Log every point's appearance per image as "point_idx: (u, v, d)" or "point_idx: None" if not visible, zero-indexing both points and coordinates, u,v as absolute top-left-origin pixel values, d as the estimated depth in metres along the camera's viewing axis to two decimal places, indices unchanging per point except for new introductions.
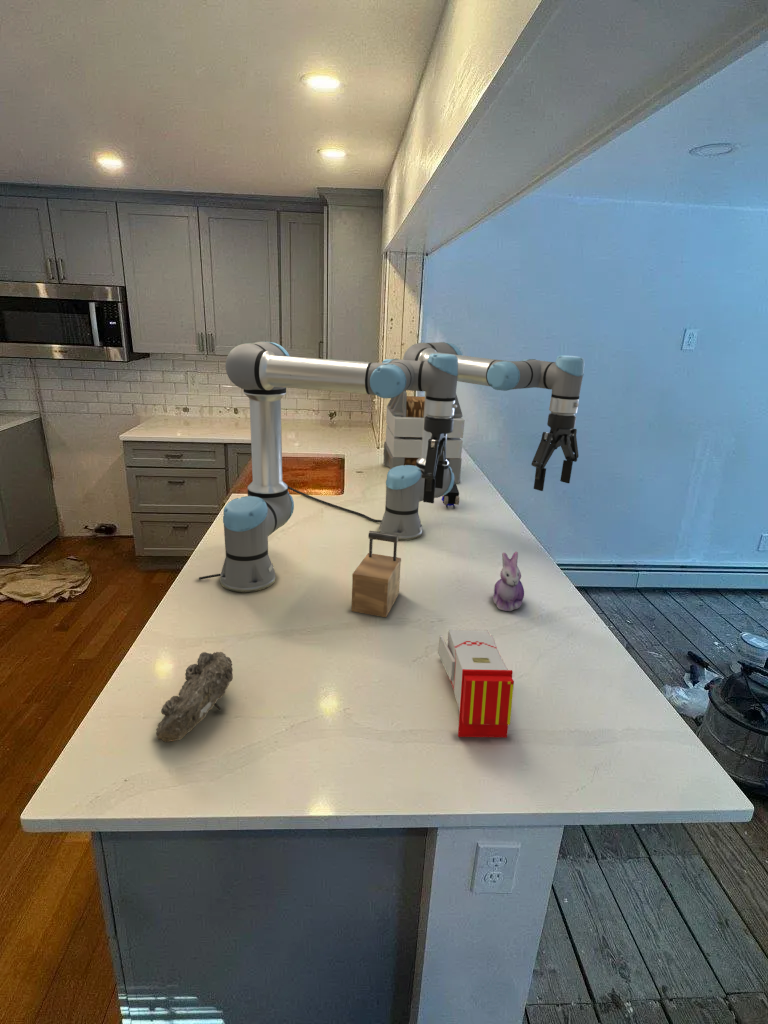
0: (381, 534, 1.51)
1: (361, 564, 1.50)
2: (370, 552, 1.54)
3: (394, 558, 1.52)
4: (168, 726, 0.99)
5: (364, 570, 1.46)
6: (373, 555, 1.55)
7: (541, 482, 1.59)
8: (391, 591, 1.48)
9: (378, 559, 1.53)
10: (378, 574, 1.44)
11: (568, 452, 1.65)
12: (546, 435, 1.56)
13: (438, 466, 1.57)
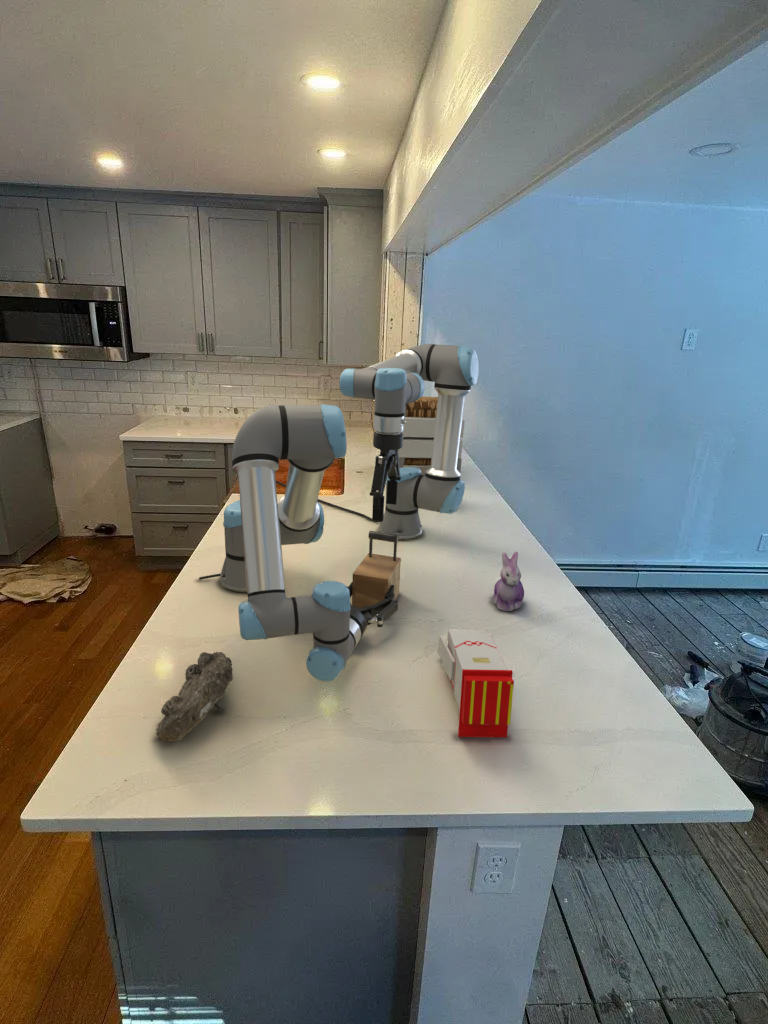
0: (381, 534, 1.51)
1: (361, 564, 1.50)
2: (370, 552, 1.54)
3: (394, 558, 1.52)
4: (168, 726, 0.99)
5: (364, 570, 1.46)
6: (373, 555, 1.55)
7: (381, 512, 1.41)
8: None
9: (378, 559, 1.53)
10: (378, 574, 1.44)
11: (393, 472, 1.50)
12: (380, 459, 1.37)
13: None
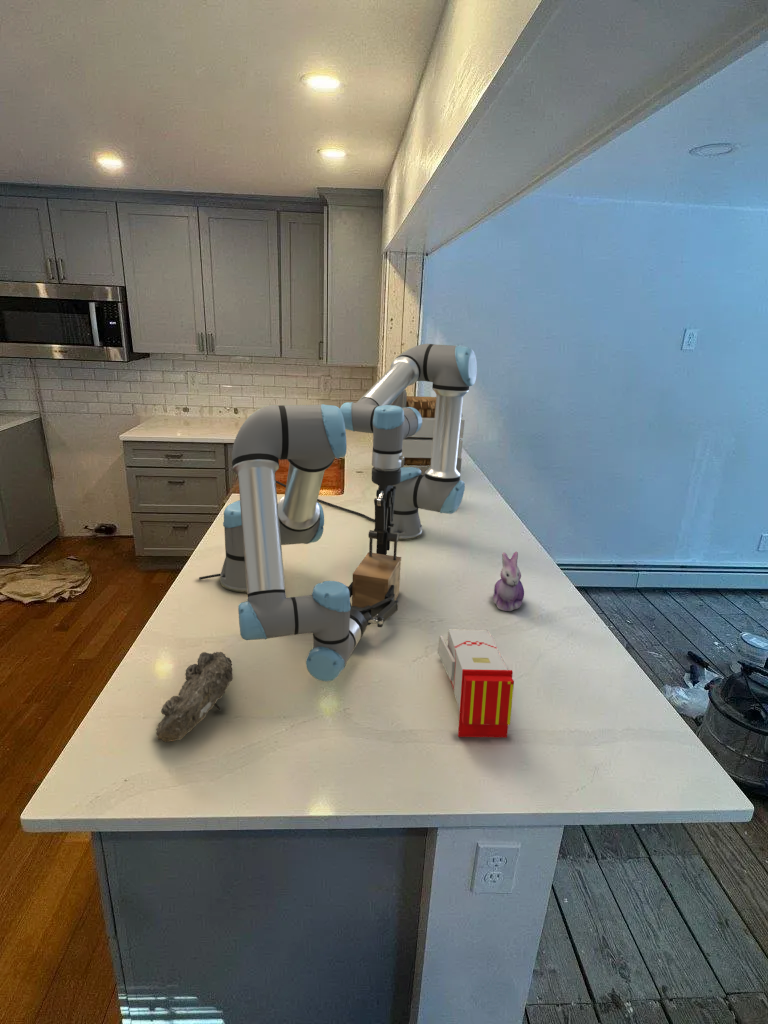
0: None
1: (361, 564, 1.50)
2: (370, 551, 1.54)
3: (394, 557, 1.52)
4: (168, 726, 0.99)
5: (364, 570, 1.46)
6: (373, 554, 1.55)
7: (385, 546, 1.50)
8: None
9: (378, 558, 1.53)
10: (378, 574, 1.44)
11: (388, 513, 1.50)
12: (379, 503, 1.42)
13: None
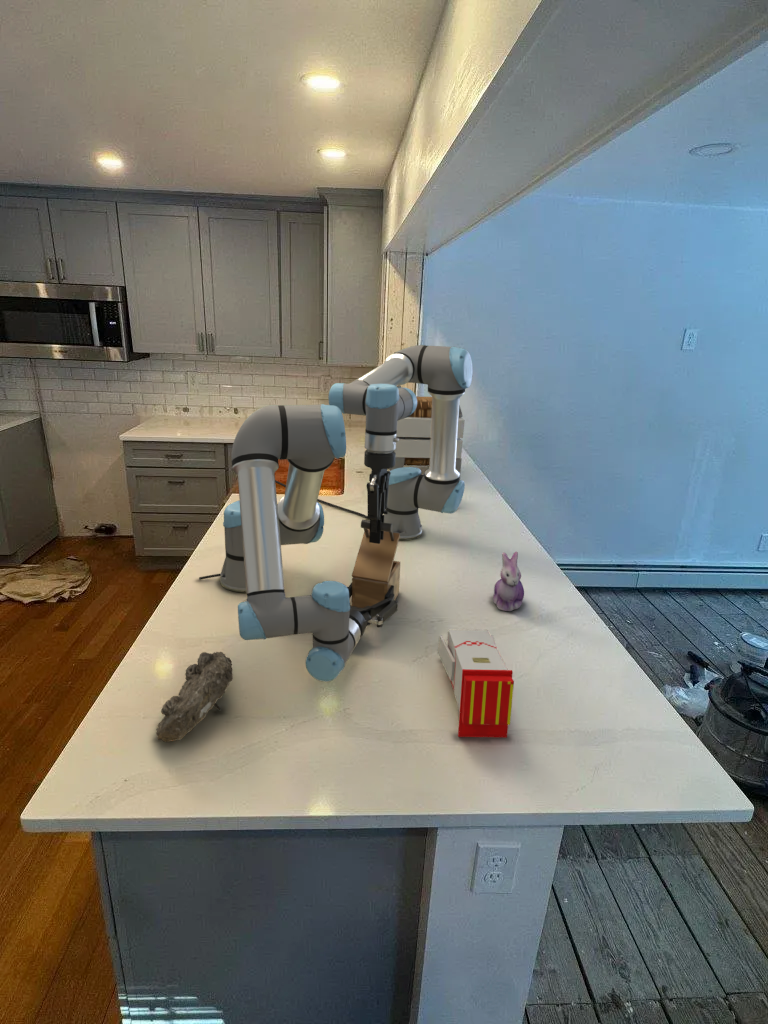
0: None
1: (359, 554, 1.46)
2: (366, 534, 1.48)
3: (392, 539, 1.47)
4: (168, 726, 0.99)
5: (363, 567, 1.44)
6: None
7: (378, 534, 1.41)
8: None
9: None
10: (377, 572, 1.43)
11: (382, 499, 1.42)
12: (372, 488, 1.33)
13: (384, 600, 1.41)
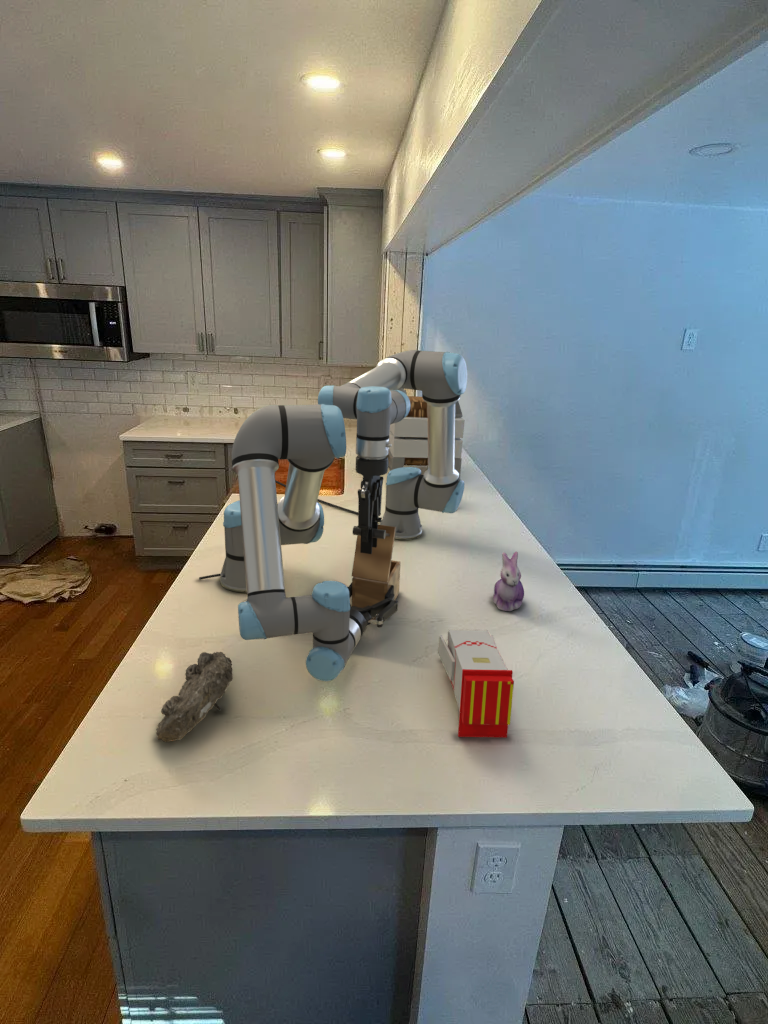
0: None
1: (356, 552, 1.44)
2: None
3: (388, 536, 1.41)
4: (168, 726, 0.99)
5: (362, 567, 1.43)
6: None
7: (370, 544, 1.35)
8: None
9: None
10: (376, 572, 1.42)
11: (375, 506, 1.36)
12: (363, 494, 1.27)
13: None
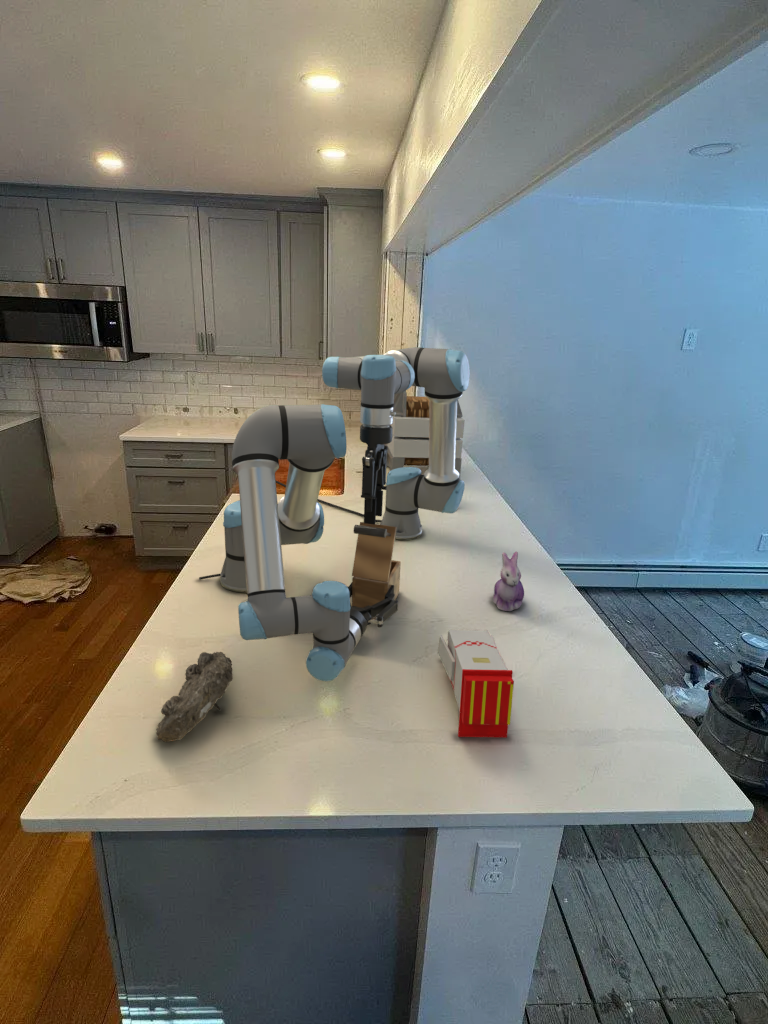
0: (367, 533, 1.36)
1: (357, 552, 1.44)
2: None
3: (388, 536, 1.42)
4: (168, 726, 0.99)
5: (362, 566, 1.43)
6: None
7: (373, 515, 1.34)
8: None
9: (372, 536, 1.44)
10: (376, 572, 1.42)
11: (380, 475, 1.37)
12: (368, 461, 1.27)
13: None
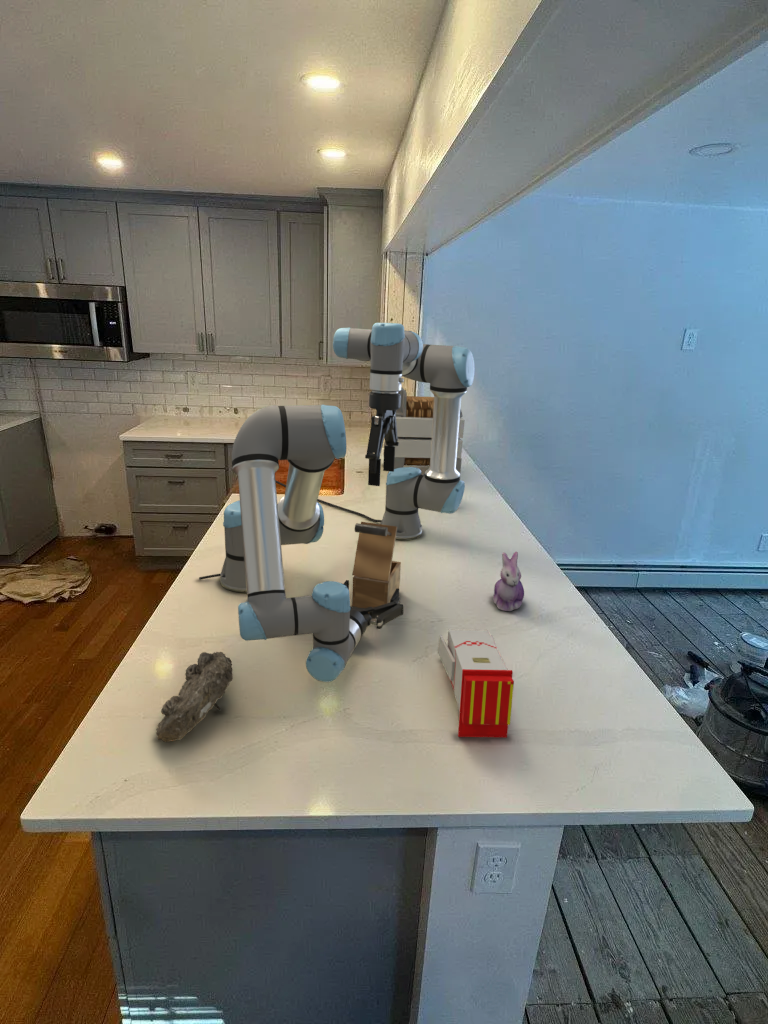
0: (368, 531, 1.37)
1: (357, 551, 1.44)
2: None
3: (389, 535, 1.43)
4: (168, 726, 0.99)
5: (363, 566, 1.44)
6: None
7: (378, 476, 1.34)
8: (391, 591, 1.48)
9: (373, 535, 1.44)
10: (377, 571, 1.43)
11: (391, 436, 1.42)
12: (377, 419, 1.30)
13: None
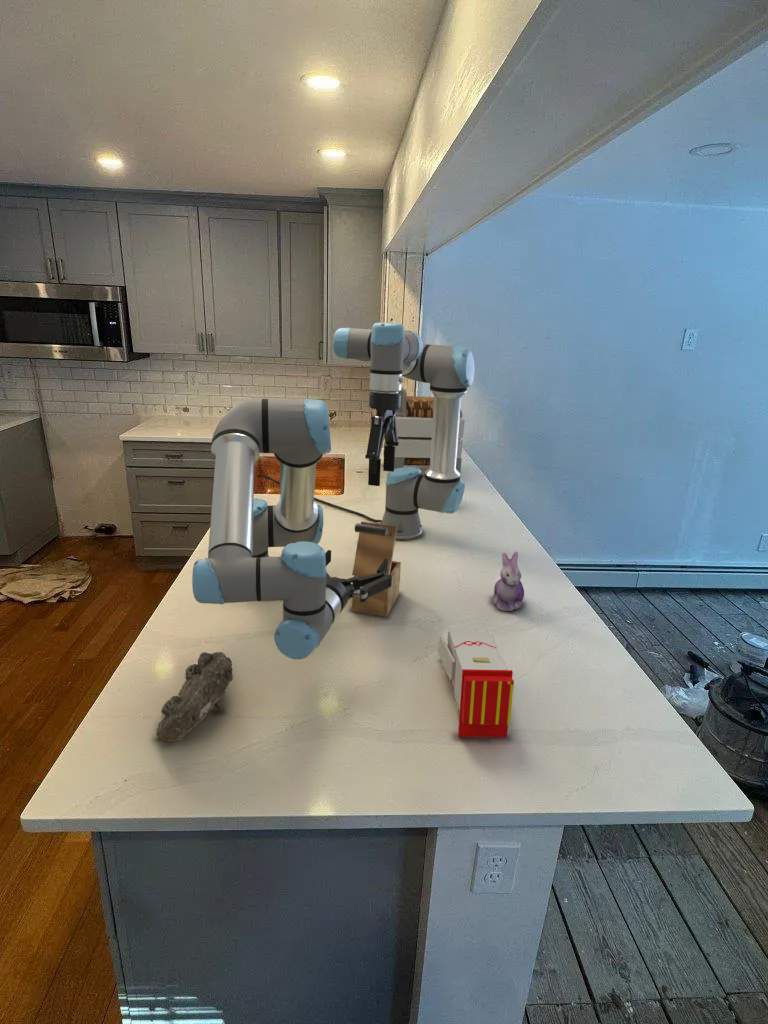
0: (368, 531, 1.37)
1: (357, 551, 1.45)
2: None
3: (389, 535, 1.43)
4: (168, 726, 0.99)
5: (363, 566, 1.44)
6: None
7: (378, 476, 1.34)
8: (391, 591, 1.48)
9: (373, 535, 1.44)
10: None
11: (391, 436, 1.42)
12: (377, 419, 1.30)
13: None
